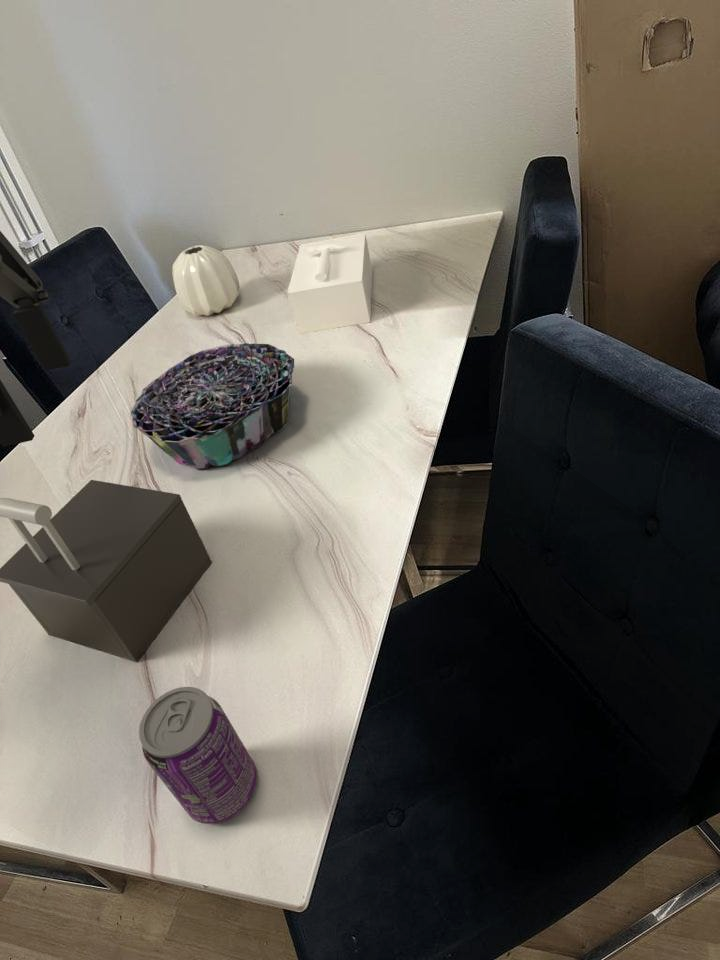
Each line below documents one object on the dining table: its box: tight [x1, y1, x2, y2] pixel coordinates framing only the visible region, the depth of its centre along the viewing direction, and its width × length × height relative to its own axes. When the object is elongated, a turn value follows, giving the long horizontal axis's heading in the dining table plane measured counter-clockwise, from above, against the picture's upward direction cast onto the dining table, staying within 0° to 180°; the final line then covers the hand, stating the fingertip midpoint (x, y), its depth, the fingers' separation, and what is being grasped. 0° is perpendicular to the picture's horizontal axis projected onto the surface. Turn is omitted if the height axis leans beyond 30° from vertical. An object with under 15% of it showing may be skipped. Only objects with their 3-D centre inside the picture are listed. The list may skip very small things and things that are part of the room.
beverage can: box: [138, 686, 258, 825], centre depth 58 cm, size 7×7×12 cm
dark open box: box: [8, 499, 213, 663], centre depth 80 cm, size 16×14×11 cm
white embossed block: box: [286, 232, 373, 335], centre depth 136 cm, size 14×25×11 cm, turn 178°
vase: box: [171, 244, 240, 317], centre depth 145 cm, size 14×14×13 cm
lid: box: [0, 479, 183, 606], centre depth 73 cm, size 17×14×10 cm
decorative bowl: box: [130, 342, 295, 471], centre depth 107 cm, size 26×28×10 cm
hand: (40, 401), depth 64 cm, fingers open, 13 cm apart
